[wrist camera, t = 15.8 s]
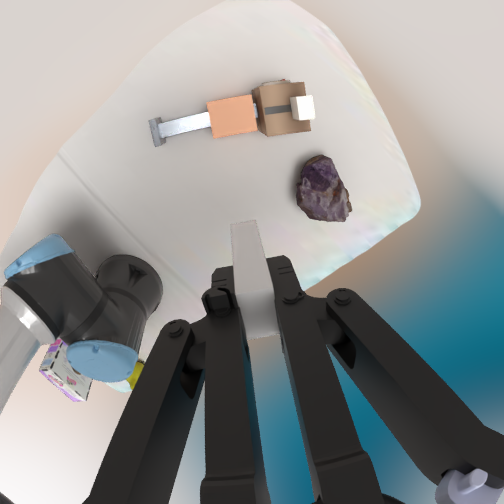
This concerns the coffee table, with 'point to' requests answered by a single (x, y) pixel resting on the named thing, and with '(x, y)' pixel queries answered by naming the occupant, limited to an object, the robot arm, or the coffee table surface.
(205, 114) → the rail
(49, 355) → the candy box
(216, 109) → the block
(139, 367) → the fruit
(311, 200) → the rock
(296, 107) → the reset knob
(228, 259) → the coffee table surface
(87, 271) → the robot arm
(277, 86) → the cabinet
